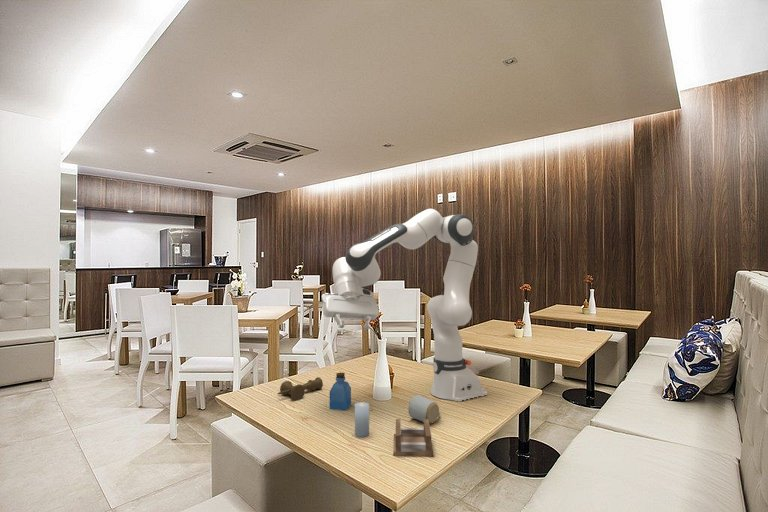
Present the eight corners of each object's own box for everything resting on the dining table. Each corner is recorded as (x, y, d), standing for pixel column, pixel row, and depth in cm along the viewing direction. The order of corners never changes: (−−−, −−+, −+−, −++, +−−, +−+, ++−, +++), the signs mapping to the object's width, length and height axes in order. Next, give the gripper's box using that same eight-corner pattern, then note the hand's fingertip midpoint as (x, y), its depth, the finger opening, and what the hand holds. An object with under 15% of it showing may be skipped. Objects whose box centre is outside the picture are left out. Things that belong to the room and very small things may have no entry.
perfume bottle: (346, 410, 136) (346, 376, 136) (329, 409, 137) (329, 375, 137) (351, 404, 142) (351, 371, 142) (335, 402, 143) (335, 370, 143)
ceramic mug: (427, 427, 122) (427, 403, 122) (407, 420, 127) (407, 397, 127) (446, 418, 129) (446, 395, 129) (426, 412, 135) (426, 390, 135)
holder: (430, 437, 115) (430, 419, 115) (433, 456, 104) (433, 436, 104) (393, 437, 115) (393, 418, 115) (393, 455, 104) (393, 435, 104)
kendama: (327, 392, 156) (284, 404, 141) (313, 388, 163) (270, 399, 148) (327, 377, 156) (284, 388, 142) (313, 373, 163) (271, 383, 148)
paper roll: (367, 430, 120) (366, 401, 120) (370, 436, 116) (370, 406, 116) (353, 432, 119) (353, 402, 119) (356, 438, 114) (356, 407, 115)
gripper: (323, 287, 132) (328, 320, 123) (376, 292, 141) (384, 323, 132) (318, 298, 136) (322, 331, 127) (369, 302, 145) (377, 333, 136)
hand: (354, 327), depth 130 cm, fingers open, 8 cm apart
